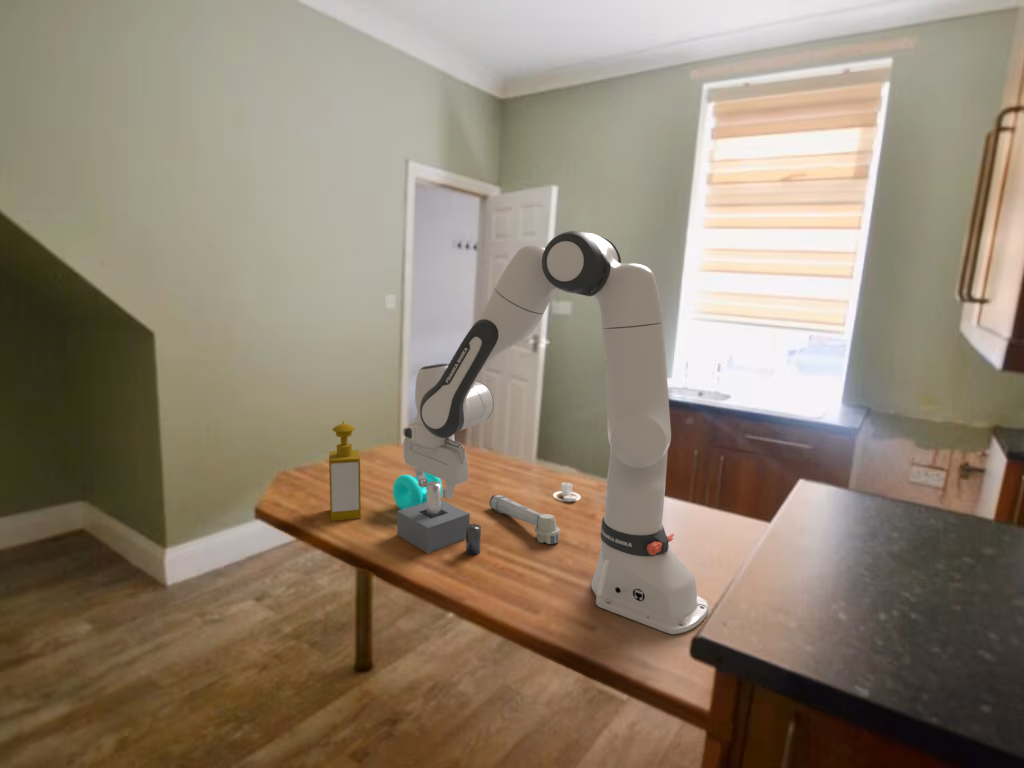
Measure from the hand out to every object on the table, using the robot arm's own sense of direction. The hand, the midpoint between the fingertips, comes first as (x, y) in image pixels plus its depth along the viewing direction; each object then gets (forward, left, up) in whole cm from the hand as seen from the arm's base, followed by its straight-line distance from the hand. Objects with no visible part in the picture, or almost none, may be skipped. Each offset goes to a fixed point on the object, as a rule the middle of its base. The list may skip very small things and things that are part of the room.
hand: (435, 491), depth 129 cm
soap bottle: (+27, +8, -11) cm, 31 cm away
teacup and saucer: (-3, -41, -12) cm, 43 cm away
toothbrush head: (-9, -21, -12) cm, 25 cm away
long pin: (0, 0, -11) cm, 11 cm away
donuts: (+16, -7, -11) cm, 21 cm away
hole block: (0, 0, -11) cm, 11 cm away
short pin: (-12, -2, -11) cm, 16 cm away
